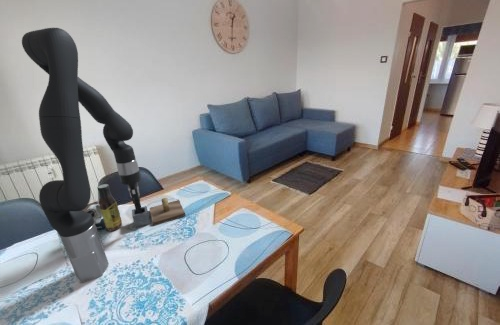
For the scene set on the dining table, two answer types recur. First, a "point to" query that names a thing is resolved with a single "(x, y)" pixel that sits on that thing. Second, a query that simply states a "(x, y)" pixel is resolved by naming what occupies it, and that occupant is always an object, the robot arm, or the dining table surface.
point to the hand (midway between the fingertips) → (138, 204)
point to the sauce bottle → (109, 208)
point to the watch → (96, 216)
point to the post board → (166, 211)
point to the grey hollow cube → (140, 217)
